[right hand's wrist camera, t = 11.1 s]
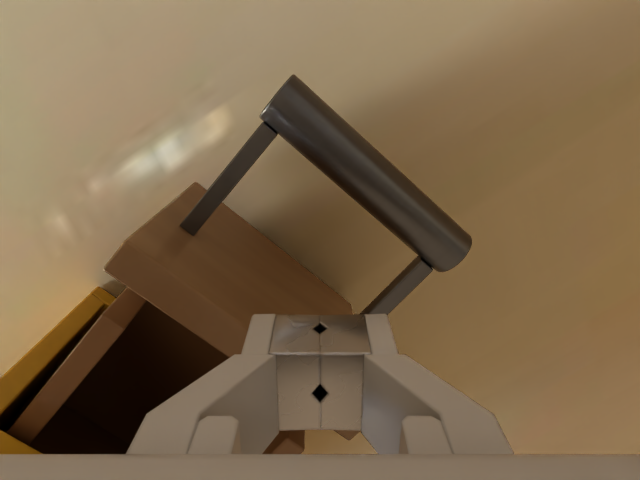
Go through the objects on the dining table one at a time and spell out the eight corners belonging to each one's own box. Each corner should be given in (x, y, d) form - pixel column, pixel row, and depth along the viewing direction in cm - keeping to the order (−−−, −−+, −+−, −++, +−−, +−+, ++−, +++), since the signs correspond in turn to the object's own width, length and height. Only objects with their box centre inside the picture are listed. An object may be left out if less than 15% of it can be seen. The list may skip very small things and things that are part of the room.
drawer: (286, 67, 18) (270, 52, 11) (443, 211, 20) (523, 284, 13) (37, 380, 23) (-98, 526, 15) (187, 471, 25) (133, 638, 17)
